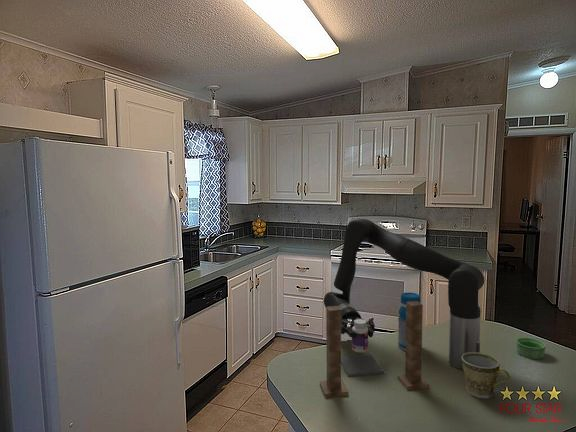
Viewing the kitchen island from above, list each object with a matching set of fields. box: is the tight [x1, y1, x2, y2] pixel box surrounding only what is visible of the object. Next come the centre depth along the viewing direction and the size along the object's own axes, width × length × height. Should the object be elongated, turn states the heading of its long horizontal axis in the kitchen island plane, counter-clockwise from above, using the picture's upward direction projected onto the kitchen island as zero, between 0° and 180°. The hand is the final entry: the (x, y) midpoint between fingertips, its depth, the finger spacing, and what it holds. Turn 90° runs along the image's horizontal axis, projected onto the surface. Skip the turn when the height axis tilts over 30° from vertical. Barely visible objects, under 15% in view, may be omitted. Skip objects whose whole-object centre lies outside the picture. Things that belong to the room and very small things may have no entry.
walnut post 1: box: [319, 306, 350, 399], centre depth 115 cm, size 7×7×25 cm
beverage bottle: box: [397, 292, 421, 352], centre depth 143 cm, size 8×8×20 cm
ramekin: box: [515, 337, 547, 360], centre depth 137 cm, size 9×9×4 cm
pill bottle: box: [351, 318, 369, 353], centre depth 130 cm, size 5×5×10 cm
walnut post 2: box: [397, 301, 430, 391], centre depth 118 cm, size 7×7×25 cm
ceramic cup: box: [462, 352, 510, 400], centre depth 112 cm, size 13×10×10 cm
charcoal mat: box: [341, 354, 385, 377], centre depth 130 cm, size 12×12×1 cm
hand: (362, 335), depth 127 cm, fingers closed on pill bottle, 5 cm apart
